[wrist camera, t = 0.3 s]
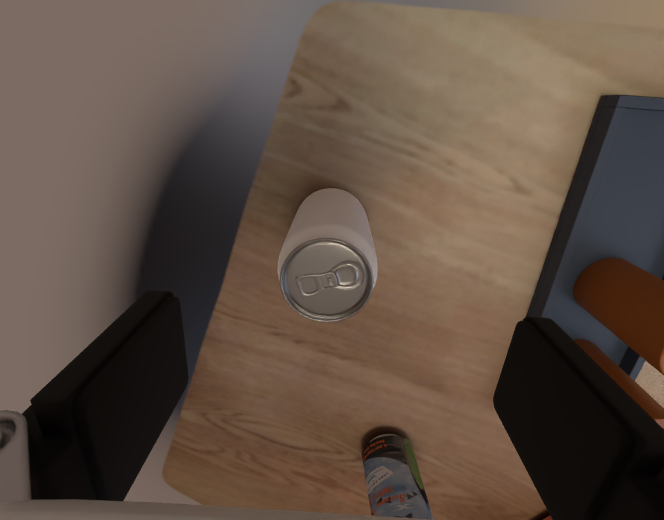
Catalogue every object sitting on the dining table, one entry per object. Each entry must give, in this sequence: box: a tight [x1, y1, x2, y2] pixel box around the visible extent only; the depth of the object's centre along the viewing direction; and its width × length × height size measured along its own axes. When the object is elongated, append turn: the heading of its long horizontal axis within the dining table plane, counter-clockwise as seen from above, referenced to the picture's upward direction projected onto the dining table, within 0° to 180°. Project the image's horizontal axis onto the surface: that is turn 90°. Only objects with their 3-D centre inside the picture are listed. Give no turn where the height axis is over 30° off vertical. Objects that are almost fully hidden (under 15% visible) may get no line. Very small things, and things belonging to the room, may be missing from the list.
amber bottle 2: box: [574, 339, 664, 429], centre depth 31 cm, size 6×6×13 cm
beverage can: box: [362, 434, 433, 520], centre depth 38 cm, size 6×7×12 cm
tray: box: [527, 95, 664, 381], centre depth 33 cm, size 32×12×2 cm, turn 176°
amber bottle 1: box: [573, 258, 664, 375], centre depth 27 cm, size 6×6×13 cm
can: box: [278, 188, 378, 322], centre depth 27 cm, size 6×6×12 cm
